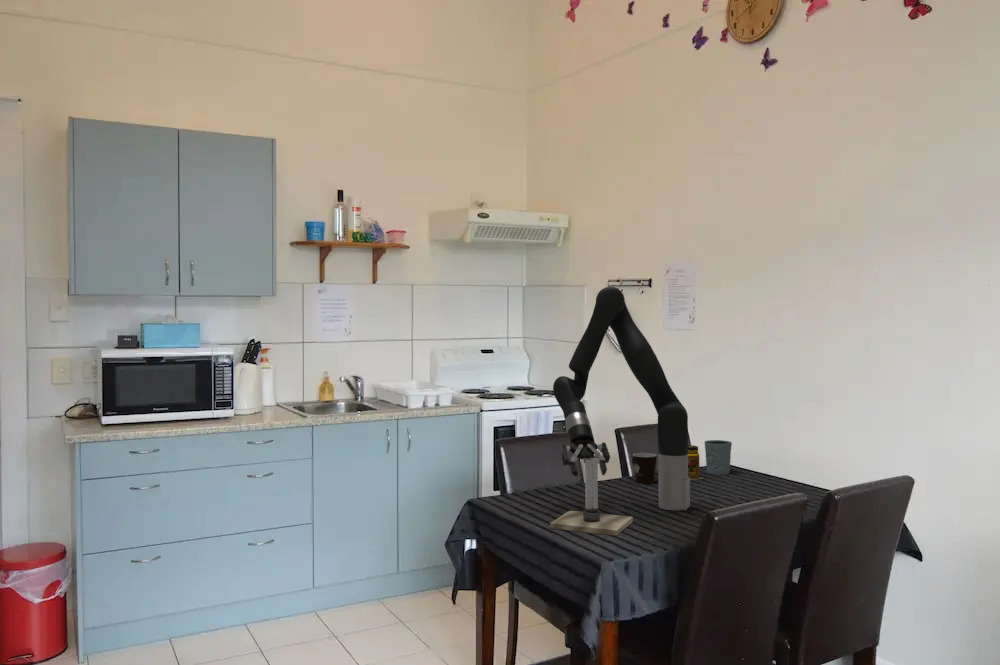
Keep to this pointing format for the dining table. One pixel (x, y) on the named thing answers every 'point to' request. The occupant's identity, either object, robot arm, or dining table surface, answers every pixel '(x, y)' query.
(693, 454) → the condiment
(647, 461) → the coffee mug
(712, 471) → the teal embossed plant pot
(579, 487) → the dining table surface
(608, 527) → the birch board
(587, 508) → the grey pillar block
